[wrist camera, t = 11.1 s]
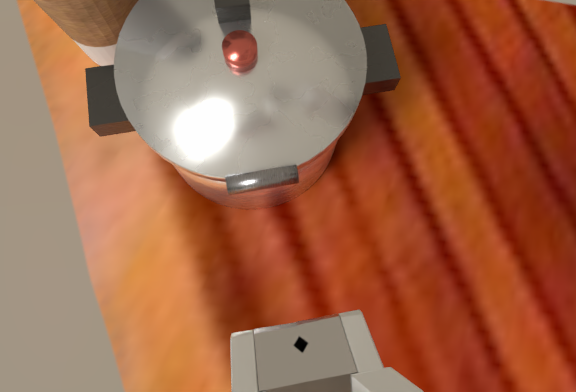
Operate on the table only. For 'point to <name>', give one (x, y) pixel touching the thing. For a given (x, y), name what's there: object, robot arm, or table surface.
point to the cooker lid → (240, 84)
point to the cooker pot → (113, 120)
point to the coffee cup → (91, 24)
